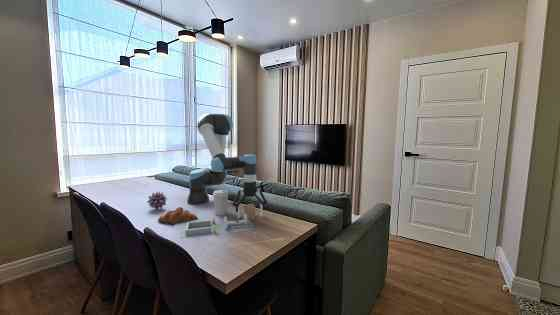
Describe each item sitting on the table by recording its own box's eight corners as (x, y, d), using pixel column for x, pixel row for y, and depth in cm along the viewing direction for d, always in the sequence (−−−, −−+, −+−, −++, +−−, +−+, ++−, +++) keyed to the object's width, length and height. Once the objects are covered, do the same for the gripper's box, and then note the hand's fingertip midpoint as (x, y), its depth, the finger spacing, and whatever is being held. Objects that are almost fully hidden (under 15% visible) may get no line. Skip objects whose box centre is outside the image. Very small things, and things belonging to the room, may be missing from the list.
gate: (224, 223, 131) (223, 214, 130) (245, 221, 134) (245, 212, 134) (225, 229, 123) (225, 220, 123) (247, 227, 127) (247, 218, 126)
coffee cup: (225, 218, 142) (224, 193, 141) (210, 217, 144) (209, 192, 143) (231, 213, 152) (231, 189, 150) (217, 211, 153) (217, 188, 152)
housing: (182, 227, 128) (182, 219, 128) (249, 220, 139) (249, 213, 139) (179, 240, 113) (179, 231, 113) (254, 231, 124) (254, 223, 123)
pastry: (168, 229, 126) (168, 214, 125) (157, 221, 136) (156, 208, 136) (198, 220, 139) (197, 207, 138) (185, 214, 149) (185, 201, 148)
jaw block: (245, 217, 144) (244, 204, 143) (253, 216, 146) (253, 203, 145) (246, 220, 139) (246, 207, 138) (255, 220, 140) (255, 206, 139)
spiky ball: (168, 205, 165) (167, 188, 163) (166, 211, 153) (165, 193, 152) (149, 207, 161) (148, 190, 160) (146, 213, 150) (145, 194, 148)
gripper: (228, 183, 132) (229, 220, 135) (272, 181, 140) (272, 216, 142) (227, 180, 140) (228, 216, 142) (268, 178, 147) (268, 212, 149)
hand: (250, 216), depth 142 cm, fingers open, 13 cm apart
